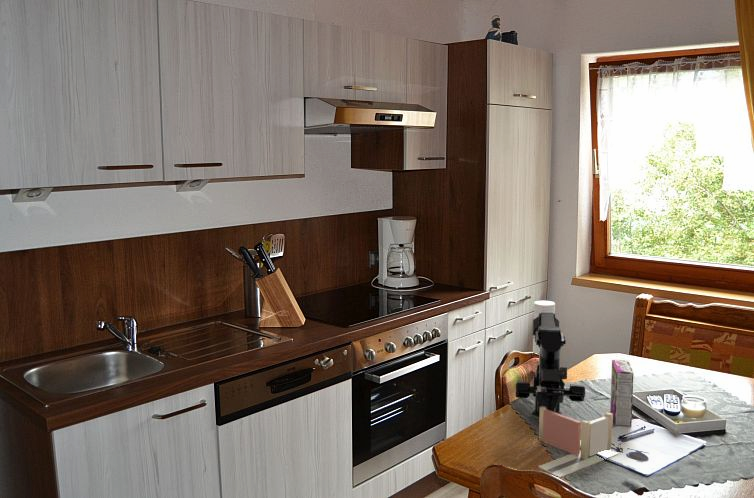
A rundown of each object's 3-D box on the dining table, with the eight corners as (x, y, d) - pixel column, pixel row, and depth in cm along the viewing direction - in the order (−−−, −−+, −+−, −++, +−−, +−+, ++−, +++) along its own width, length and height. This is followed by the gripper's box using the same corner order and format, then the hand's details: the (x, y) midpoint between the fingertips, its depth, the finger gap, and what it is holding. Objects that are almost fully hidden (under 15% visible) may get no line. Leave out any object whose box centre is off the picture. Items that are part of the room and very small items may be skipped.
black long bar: (529, 368, 253) (531, 300, 249) (549, 367, 253) (551, 300, 249) (535, 375, 246) (537, 305, 242) (555, 374, 246) (558, 305, 242)
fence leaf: (580, 453, 185) (581, 419, 184) (576, 455, 184) (577, 421, 182) (541, 438, 195) (542, 405, 193) (537, 439, 194) (538, 407, 192)
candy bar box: (609, 410, 214) (611, 359, 211) (626, 412, 213) (628, 360, 210) (613, 425, 203) (616, 371, 201) (631, 427, 202) (634, 372, 200)
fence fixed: (584, 460, 182) (586, 424, 180) (578, 458, 183) (580, 421, 182) (612, 449, 188) (614, 414, 186) (606, 447, 190) (608, 411, 188)
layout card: (559, 477, 173) (559, 477, 173) (538, 467, 179) (538, 466, 179) (619, 453, 186) (619, 452, 186) (597, 444, 191) (597, 443, 191)
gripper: (516, 353, 196) (515, 406, 187) (586, 357, 192) (588, 411, 184) (516, 370, 205) (514, 422, 196) (582, 374, 201) (584, 427, 193)
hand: (549, 420), depth 192 cm, fingers closed
